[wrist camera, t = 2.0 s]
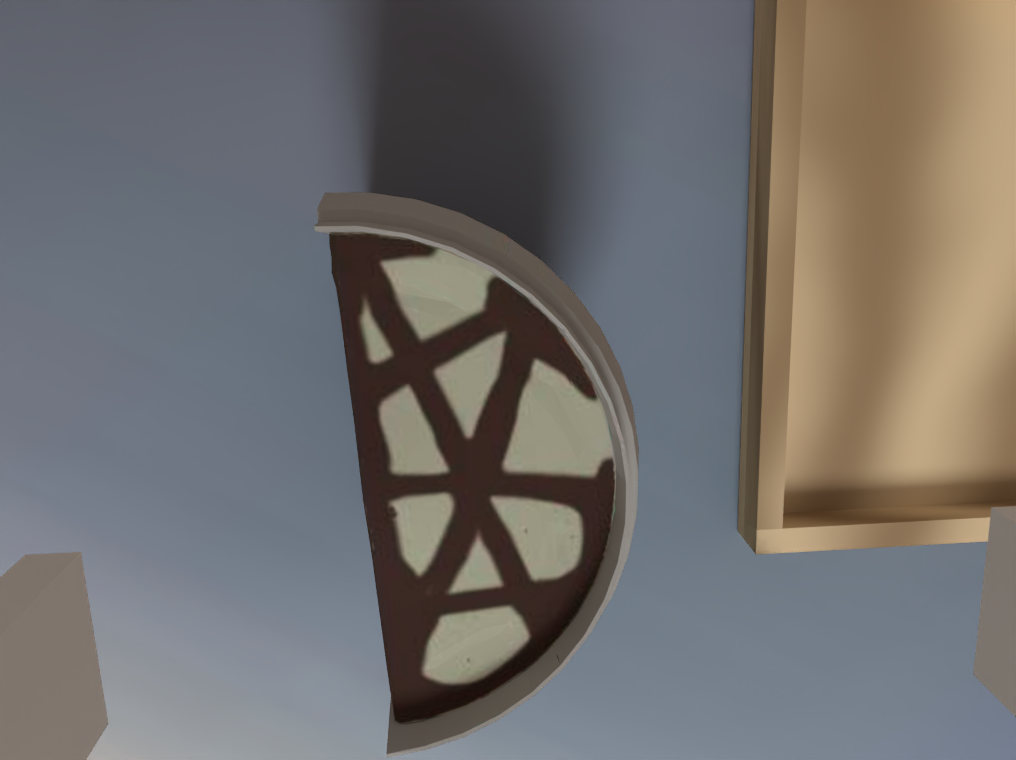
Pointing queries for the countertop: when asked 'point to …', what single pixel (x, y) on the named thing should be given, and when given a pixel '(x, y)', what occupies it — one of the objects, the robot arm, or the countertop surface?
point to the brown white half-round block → (477, 459)
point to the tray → (879, 274)
